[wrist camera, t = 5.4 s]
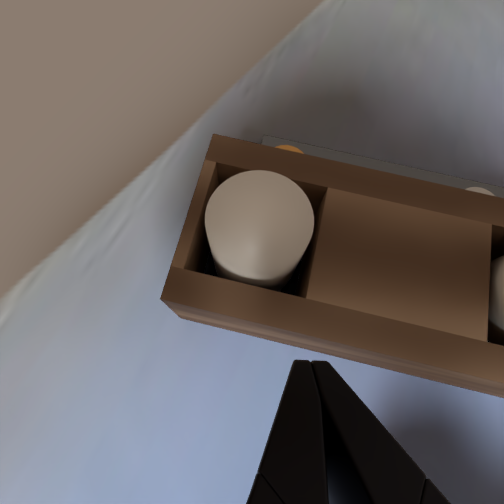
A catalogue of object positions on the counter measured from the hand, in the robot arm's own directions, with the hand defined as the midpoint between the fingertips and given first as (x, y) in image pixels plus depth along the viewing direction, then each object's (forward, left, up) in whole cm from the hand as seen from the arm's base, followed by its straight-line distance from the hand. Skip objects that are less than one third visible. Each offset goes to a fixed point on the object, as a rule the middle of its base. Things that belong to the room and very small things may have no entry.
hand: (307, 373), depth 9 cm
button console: (+1, -8, -13) cm, 15 cm away
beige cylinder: (+6, -3, -12) cm, 14 cm away
